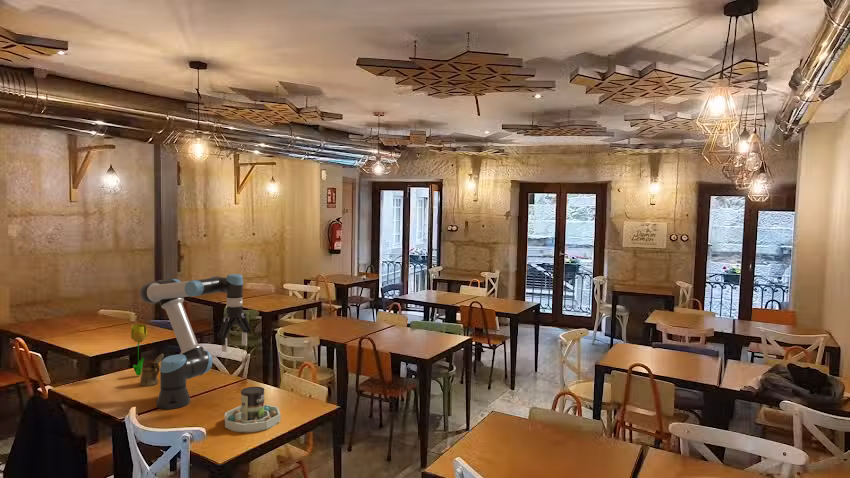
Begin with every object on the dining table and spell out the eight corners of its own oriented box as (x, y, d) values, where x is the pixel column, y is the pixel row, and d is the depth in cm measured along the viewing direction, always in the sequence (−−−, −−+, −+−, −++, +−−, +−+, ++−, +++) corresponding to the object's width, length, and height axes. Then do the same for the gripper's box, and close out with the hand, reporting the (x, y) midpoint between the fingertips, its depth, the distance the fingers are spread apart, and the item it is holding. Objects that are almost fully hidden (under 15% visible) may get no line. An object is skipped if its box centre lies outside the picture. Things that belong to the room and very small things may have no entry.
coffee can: (268, 417, 256) (268, 387, 255) (257, 425, 246) (257, 394, 245) (248, 414, 258) (248, 385, 257) (236, 423, 248) (236, 392, 247)
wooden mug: (156, 388, 294) (156, 355, 293) (135, 385, 298) (135, 352, 297) (168, 383, 303) (168, 351, 302) (148, 380, 306) (148, 348, 305)
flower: (127, 378, 310) (126, 325, 308) (137, 373, 318) (136, 322, 316) (140, 379, 308) (140, 326, 306) (150, 375, 316) (150, 323, 314)
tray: (213, 426, 246) (213, 417, 245) (250, 408, 268) (250, 400, 267) (255, 436, 236) (255, 427, 236) (290, 417, 258) (290, 409, 258)
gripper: (221, 310, 256) (221, 355, 257) (258, 302, 279) (257, 343, 280) (209, 309, 259) (209, 353, 260) (246, 301, 282) (246, 342, 283)
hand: (234, 348), depth 270 cm, fingers open, 13 cm apart
